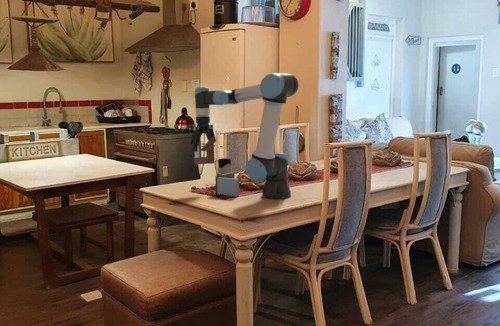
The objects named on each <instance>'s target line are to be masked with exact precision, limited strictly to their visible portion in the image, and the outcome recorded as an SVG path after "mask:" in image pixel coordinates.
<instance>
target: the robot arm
mask: <svg viewBox="0 0 500 326" xmlns="http://www.w3.org/2000/svg"><path fill="white" fill-rule="evenodd" d="M260 81H261V82H260V83H258V84H254V85H250V86H245V87H244V86H243V87H239V88H235V89H234V88H233V89H228V90H223V89H221V90H220V89H218V90H210V87H208V86H204V87H203V86H201V87H200V86H198V87H196V88H195V89H194V101H195V103H194V105H195V116H196V117H195V123H196V126H195V125H193V126H192V133H191V134H192V135H191V140H190V145H191V146H193V152H194V157H195V158H199V146H198V143H199V141H200V138H201V139H202V135H203V134H205V137H206V138H207V142H208V141H209V140H210V139H211V137H213V138H214V144H215V143H216V142H217V139H216V135H215V131H214V125H213V124H210V123H211V116H210V114H211V111H210V110H211V109H210V106H223V105H225V106H226V105H237V104H239V103H245V102H249V101H256V100H261V99H262V101H263V104H264V105H263V110H262V114H261V115H262V116H261V120H260V121H261V122H260V126H259V132H258V137H257V143H256V148H255V150H253V151H252V153H251V158H250V159H249V160H247V161H246V163H245V167H244V168H245V172H246V175H247V177H248V178H249V179H251V180H252V181H254V182H263V181H265V182H264V184H263V188H262V190H261V193H262V194H261V196H262V197H263V198H266V199H277V200H279V199H287V198H290V197H291V196H292V192H291V188H290V184H289V182H288V168H289V165H288V163H289V160H288V154H287V153H283V152H274V149H275V146H276V145H275V144H276V140H277V139H276V138H277V134H278V129H279V123H280V119H281V118H280V117H281V115H282V114H281V113H282V108H283V107H284V106H285V105H286V103H287V100H288V98H290V97H293V96H294V95H295V94H296V93H297V92H298V91H299V86H300V85H299V84H300V83H299V81H298V78H297V77H296V76H295V75H293V74H292V73H286V72H284V73H282V72H273V73H268V74H266V75H265V76H264V77H263V78H262V79H261V80H260ZM198 131H200V132H199V133H198Z"/></svg>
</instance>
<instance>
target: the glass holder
mask: <svg viewBox="0 0 500 326" xmlns="http://www.w3.org/2000/svg"><path fill="white" fill-rule="evenodd" d="M217 165H218V166H217ZM217 167H218V168H217ZM214 168H215V169H214V170H215V173H216V175H217V174H218V173H222V174H226V173H230V172H232V159H231V158H217V159H216V160H215V163H214Z"/></svg>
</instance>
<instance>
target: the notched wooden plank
mask: <svg viewBox="0 0 500 326" xmlns="http://www.w3.org/2000/svg"><path fill="white" fill-rule="evenodd" d="M218 177H221V178H233V179H236V178H235V172H233V171H231V172H230V173H226V174H222V173H218V174H217V173H216V175H215V180H214V181H215V194H216V193H217V178H218Z"/></svg>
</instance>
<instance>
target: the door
mask: <svg viewBox="0 0 500 326" xmlns="http://www.w3.org/2000/svg"><path fill="white" fill-rule="evenodd" d="M239 180H240V179H239V178H235V179H233V178H221V177H218V178H217V193H218V194H217V195H220V194H223V195H222V196H230V197H240V181H239Z"/></svg>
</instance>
